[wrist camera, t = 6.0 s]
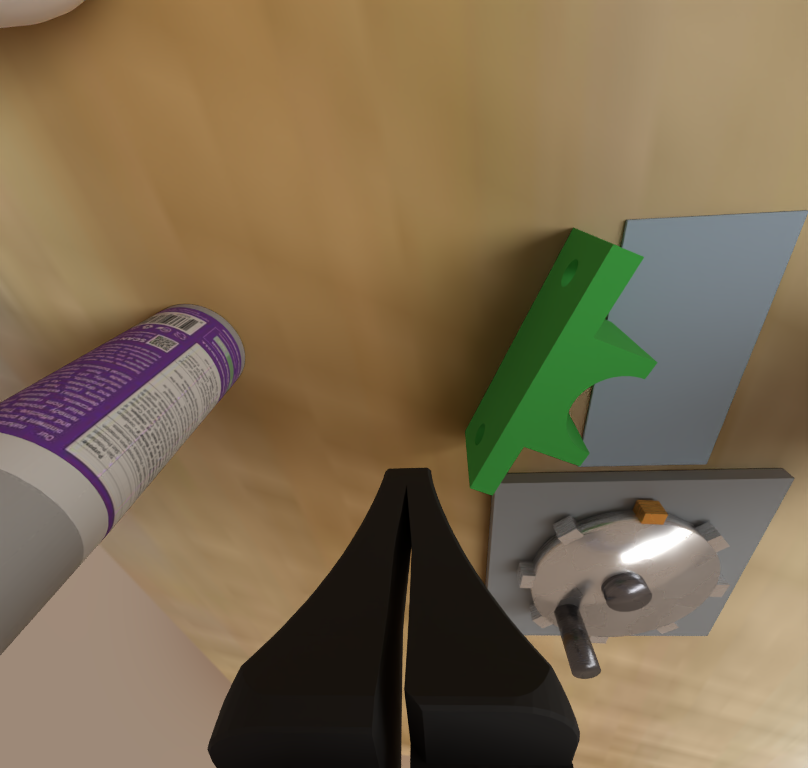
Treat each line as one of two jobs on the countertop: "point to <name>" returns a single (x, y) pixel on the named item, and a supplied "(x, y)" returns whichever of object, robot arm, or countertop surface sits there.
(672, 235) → the mat
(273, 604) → the countertop surface
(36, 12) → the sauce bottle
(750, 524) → the mount plate
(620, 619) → the sprocket
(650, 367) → the pipe clamp
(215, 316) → the container
